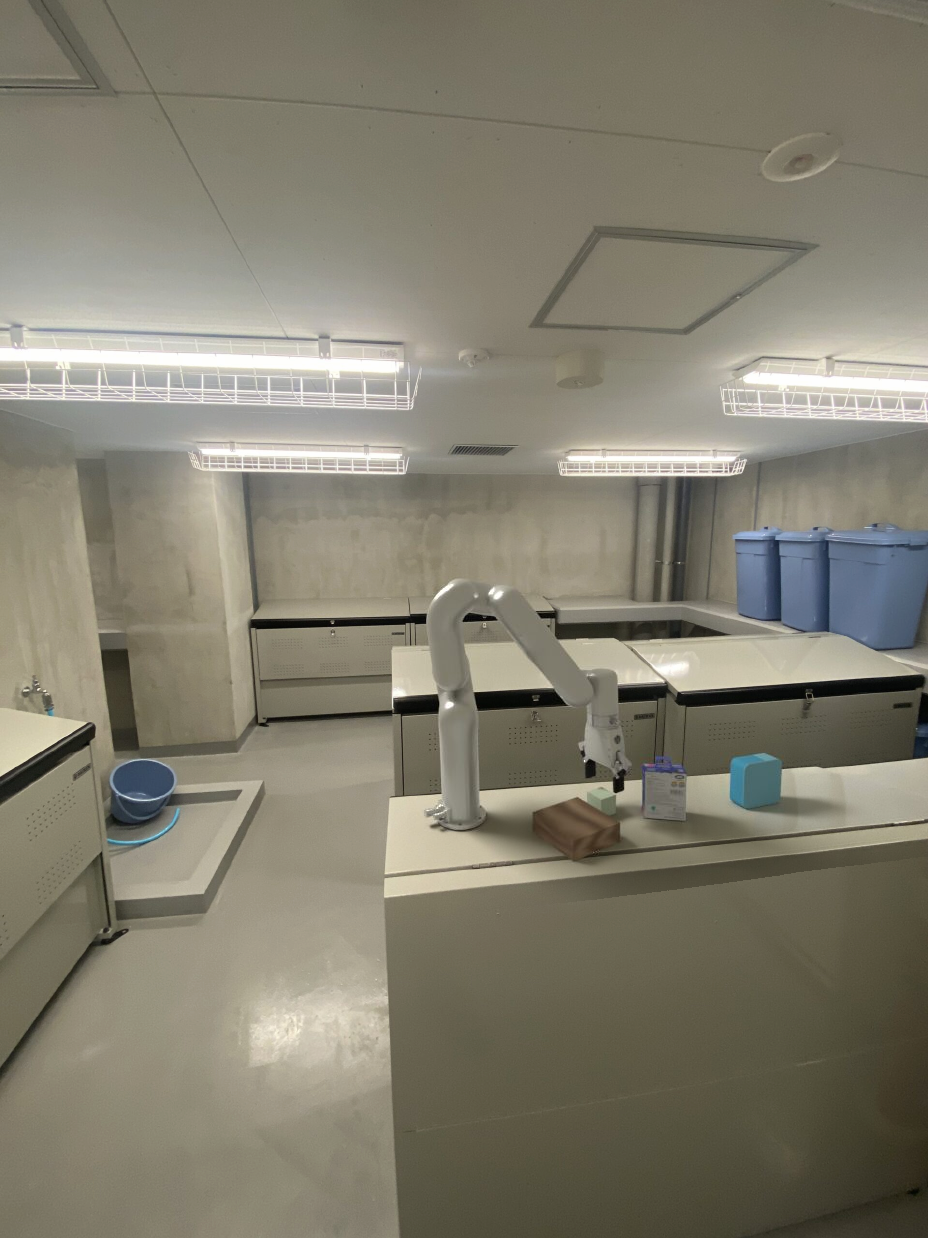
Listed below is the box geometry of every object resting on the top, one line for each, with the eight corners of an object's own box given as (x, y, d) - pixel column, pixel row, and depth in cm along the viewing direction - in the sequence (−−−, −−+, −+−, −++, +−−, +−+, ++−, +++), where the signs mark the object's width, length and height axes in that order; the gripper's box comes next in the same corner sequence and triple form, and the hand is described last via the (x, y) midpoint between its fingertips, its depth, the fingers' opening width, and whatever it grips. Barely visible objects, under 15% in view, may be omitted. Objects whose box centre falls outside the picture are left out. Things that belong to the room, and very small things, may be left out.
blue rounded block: (765, 795, 127) (767, 752, 126) (780, 803, 123) (783, 758, 121) (728, 802, 124) (730, 757, 122) (743, 810, 119) (744, 764, 118)
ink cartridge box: (681, 810, 120) (682, 755, 119) (687, 822, 115) (688, 764, 113) (640, 807, 122) (641, 753, 121) (644, 818, 117) (645, 762, 115)
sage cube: (601, 819, 117) (601, 799, 117) (586, 810, 122) (587, 791, 121) (615, 813, 120) (616, 794, 119) (601, 805, 124) (601, 786, 124)
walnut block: (572, 863, 101) (572, 841, 100) (532, 832, 113) (532, 812, 113) (620, 843, 108) (620, 822, 107) (577, 815, 120) (577, 796, 119)
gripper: (641, 725, 112) (642, 793, 114) (589, 707, 127) (591, 768, 129) (617, 731, 109) (619, 802, 111) (567, 713, 124) (569, 775, 126)
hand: (604, 784), depth 120 cm, fingers open, 9 cm apart
